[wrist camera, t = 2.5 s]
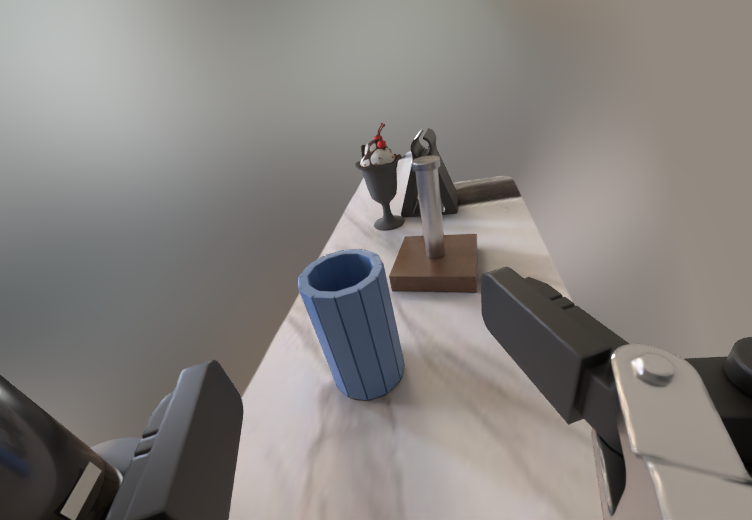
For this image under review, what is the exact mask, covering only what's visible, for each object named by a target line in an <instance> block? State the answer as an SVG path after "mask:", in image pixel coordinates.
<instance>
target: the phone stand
mask: <svg viewBox="0 0 752 520" xmlns="http://www.w3.org/2000/svg"><path fill="white" fill-rule="evenodd" d="M422 132H423V130H421V131H420V132H419V133H418V135H417V136H416V138H415V139H414V140H413V142H412V144H411V152H412V157H413V160H414V159H416V158H419V157H423V156H431V155H434V156H439V157H440V155H439V152H438V150H437V147H436V135H435V133H434V131H433V130H431V129H428V130H427V131H426V133H425V135H424V137H423V139H424V140H426V141H427V142H428V143H429V146H428V148H427V147H424V148H423V146H422V145H421V144H420V142H419V137H420V135H421V134H422ZM440 162H441V166H440V167H439V168H438V176H439V187H440V199H441V210H442V215H443V214H456V213H457V210H458V201H459V196H458V193H457V191H456V189H455V187H454V185H453V183H452V180H451V178H450V176H449V174H448V172H447V170H446V167H445V165H444V163H443V161H442V159H441V157H440ZM417 197H418V188H417V180H416V172H415V171H413V170H412V166H411V171H410V175H409V180H408V185H407V189H406V194H405V198H404V203H403V208H402V212H401V216H402V217H412V216H421V212H420V204H419V200H418V199H417Z"/></svg>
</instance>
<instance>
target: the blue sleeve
mask: <svg viewBox="0 0 752 520" xmlns="http://www.w3.org/2000/svg"><path fill="white" fill-rule="evenodd" d="M298 281H299V282H298V283H299V291H300V294H301V296H302V299H303V301H304V304H305V306H306V309H307V311H308V314H309V316H310V319H311V321H312V324H313V327H314V329H315V332H316V334H317V337H318V339H319V342H320V344H321V347H322V349H323V352H324V354H325V357H326V359H327V362H328V364H329V367H330V370H331V372H332V375H333V377H334V380H335V382H336V385H337V387H338V388H339V389H340V390H341V391H342V392H343V393H344V394H345V395H347V396H348V397H350V398H354V399H361V400H367V399H369V400H371V399H374V398H377V397H380V396H383V395H385V394H386V392H387V393H388V392H389V391H390V390H391V389H392V388H393V387H394V386H395V385H396V384H397V383H398V382H399V381H400V379H401V377H402V373H403V369H404V360H403V355H402V350H401V346H400V341H399V336H398V331H397V326H396V322H395V317H394V312H393V307H392V303H391V298H390V293H389V288H388V284H387V279H386V274H385V269H384V265H383V262H382V261H381V259H380V257H379V255H377V254H376V253H373V252H370V251H368V250H363V249H347V250H345V251H344V250H341V251H338V252H334V253H331V254H327V255H326V256H323V257H321V258H319V259H318V260H316V261H315V262H313V263H311V264H309V266H307V267H306V269H305V270H304V271H303V272H302V274H301V275H300V276H299V278H298Z"/></svg>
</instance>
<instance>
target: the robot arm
mask: <svg viewBox="0 0 752 520" xmlns="http://www.w3.org/2000/svg"><path fill="white" fill-rule="evenodd" d="M481 303H482V316H483V320H484V322H485V325H486V327H487V328H488V330H489V331H490V333H491V334H492V335H493V336H494V337H495V339H496V340H497V341H498V342H499V343H500V344H501V346H502V347H503V348H504V349H505V350H506V352H507V353H508V354H509V355H510V356H511V357H512V359H513V360H514V361H515V362H516V363H517V365H518V366H519V367H520V368H521V369H522V370H523V372H524V373H525V374H526V375H527V376H528V377H529V379H530V380H531V381H532V382H533V383H534V385H535V386H536V387H537V388H538V389H539V390H540V392H541V393H542V394H543V395H544V396H545V398H546V399H547V400H548V401H549V402H550V403H551V405H552V406H553V407H554V408H555V409H556V410H557V412H558V413H559V414H560V415H561V416H562V418H563V419H564V420H565V421H566V422H567V423H568V425H569V424H571V423H574V422H576V421H579V420H581V419H585V420H586V421H587V422H588V423H589V424H590V425H591V427H592V442H593V449H594V456H595V463H596V470H597V477H598V484H599V491H600V498H601V505H602V512H603V520H752V337H748V338H743V339H741V340H738V341H737V342H736V343H735V344H734V346H733V348H732V350H731V352H730V354H729V355H728V357H711V358H689V359H683V358H681V357H680V356H678V355H676V354H674V353H672V352H670V351H668V350H665V349H663V348H660V347H656V346H652V345H647V344H629V343H628V342H626V341H625V340H623V339H622V338H621V337H619V336H618V335H617V334H615V333H614V332H612V331H611V330H610V329H608V328H607V327H606V326H604V325H603V324H601V323H600V322H599V321H597V320H596V319H595V318H593V317H592V316H591V315H589V314H588V313H586V312H585V311H584V310H582V309H581V308H579V307H578V306H575V305H574V303H573V302H571V301H570V300H569V299H567V298H566V297H562V294H560V293H559V292H558V291H556V290H555V289H554V288H552V287H551V286H549V285H548V284H546V283H543V282H541V281H538V280H535V279H533V278H530V277H528V278H525V279H524V278H523V277H521V276H520V275H519V274H517V273H516V272H515V271H514V270H512V269H511V268H509V267H503V268H500V269H497V270H494V271H491V272H488V273H485V274H483V275H482V276H481ZM242 421H243V404H242V399H241V396H240V394H239V393H238V391H237V389H236V388H235V387H234V385H233V383H232V382H231V380H230V379H229V377H228V376H227V374H226V373H225V371H224V370H223V368H222V367H221V365H220V364H219V363H218V362H217V361H216V360H210V361H207V362H204V363H201V364H198V365H195V366H192V367H189V368H186V369H184V370H183V371H182V372H181V374H180V376H179V379H178V382H177V384H176V387H175V389H174V392H173V393H171V394H168V395H166V396H165V398H164V399H163V400H162V401H161V403H160V404H159V405H158V407H157V408H156V409H155V410H154V412H153V413H152V414H151V416H150V419H149V421H148V423H147V425H146V428H145V430H144V432H143V435H142V437H143V439H142V440H140V442H139V444H138V446H137V449H136V451H135V453H134V454H135V458H132V460H131V462H130V465H129V467H128V469H127V472H126V474H125V475H124V474H123V473H122V472H121V471H120V470H119V469H118V468H117V467H115V466H114V465H112V464H109V463H107V462H106V461H105V460H104V459H102V458H101V457H100V456H99V455H98V454H96V453H95V452H94V451H93V450H92V449H90V448H89V447H88V446H87V445H86V444H85V443H84V442H82V441H81V440H80V439H79V438H77V437H76V436H75V435H74V434H72V433H71V432H70V431H69V430H68V429H66V428H65V427H64V426H63V425H61V424H60V423H59V422H57V421H56V420H55V419H54V418H53V417H52V416H50V415H49V414H48V413H47V412H45V411H44V410H43V409H42V408H40V407H39V406H38V405H37V404H36V403H34V402H33V401H32V400H31V399H29V398H28V397H27V396H26V395H25V394H23V393H22V392H21V391H19V390H18V389H17V388H16V387H15V386H13V385H12V384H11V383H10V382H9V381H7V380H6V379H5V378H4V377H2V376H1V375H0V520H228V518H229V511H230V504H231V497H232V490H233V483H234V476H235V469H236V462H237V456H238V449H239V442H240V435H241V428H242Z"/></svg>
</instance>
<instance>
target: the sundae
mask: <svg viewBox="0 0 752 520" xmlns="http://www.w3.org/2000/svg"><path fill="white" fill-rule="evenodd" d="M384 126H385V124H383V123H381V126H380V128H381V127H382V128H383V127H384ZM380 128H379V130H380V131H381V129H382V128H381V129H380ZM379 130H378V134H377V135H376V136H375V137H374V140H372V141H371V142H369V143H368V144H367V146H365V145H362V146H361V152H362V160H361V161H360V162H357V163H356V164H355V165H356V167H357V169H359V170H361V171H362V174H363V176H364V179H365V182H366V185H367V188H368V190H369V193H370V195H371V197H372V199H374V200H375V201H376V202H378V203H380V204H382V207H383V218H380V219H378V220H377V221H376V222H375V223H374V227H375V228H377V229H380V230H389V229H394V228H397V227H399V226H401V225H402V224H403V223H404V219H403V217H401V216H395V215H394V216H393V215H392V213H391V210H390V205H389V203H390V201H391V200H392V199H393V198H394V197H395V195H396V191H397V173H396V168H397V163H398V160H399V159H400V158H401V155H400V154H399V155H396V154H393V153H392V151H391V150H390V149H389V148H388V146H387V145H386V142H385V141H383V140H382V136H380V131H379Z"/></svg>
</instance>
